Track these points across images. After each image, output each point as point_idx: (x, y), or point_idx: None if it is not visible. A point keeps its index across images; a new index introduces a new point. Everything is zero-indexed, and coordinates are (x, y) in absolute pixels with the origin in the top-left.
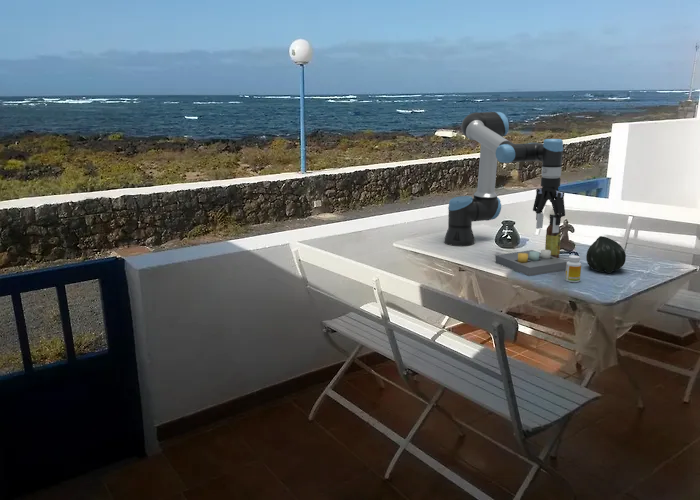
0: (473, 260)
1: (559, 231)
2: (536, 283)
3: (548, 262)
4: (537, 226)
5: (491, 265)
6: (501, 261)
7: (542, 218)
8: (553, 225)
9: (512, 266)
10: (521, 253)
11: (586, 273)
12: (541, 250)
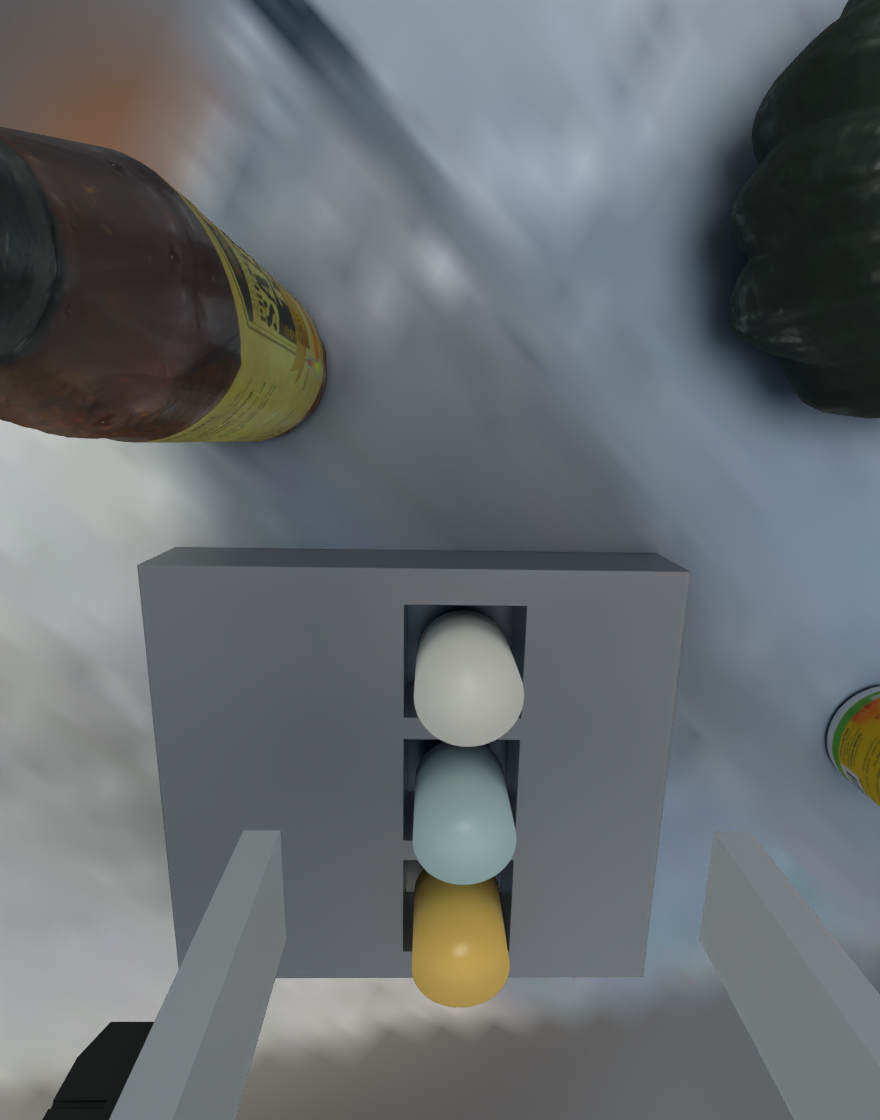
0: (77, 1009)
1: (199, 257)
2: None
3: (609, 751)
4: (272, 982)
5: None
6: None
7: (201, 1066)
8: (807, 1104)
9: None
10: (437, 969)
11: (824, 494)
12: (438, 731)
